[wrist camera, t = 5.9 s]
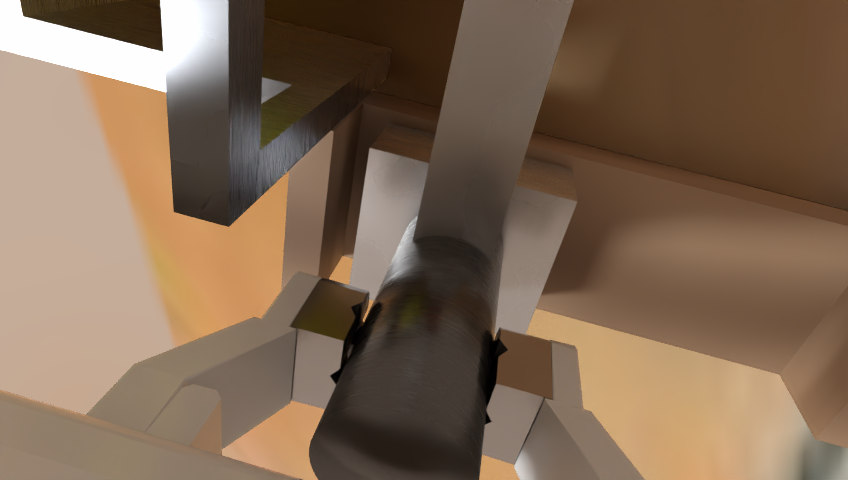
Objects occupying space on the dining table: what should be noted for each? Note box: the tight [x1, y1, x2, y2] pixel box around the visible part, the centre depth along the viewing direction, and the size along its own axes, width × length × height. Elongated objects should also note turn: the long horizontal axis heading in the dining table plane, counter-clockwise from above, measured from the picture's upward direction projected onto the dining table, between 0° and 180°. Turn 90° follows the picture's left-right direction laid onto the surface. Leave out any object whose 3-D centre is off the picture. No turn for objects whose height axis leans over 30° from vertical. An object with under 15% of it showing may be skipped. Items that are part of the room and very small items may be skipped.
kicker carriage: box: [309, 0, 578, 480], centre depth 9 cm, size 13×5×9 cm, turn 169°
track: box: [281, 91, 848, 448], centre depth 15 cm, size 5×16×4 cm, turn 79°
